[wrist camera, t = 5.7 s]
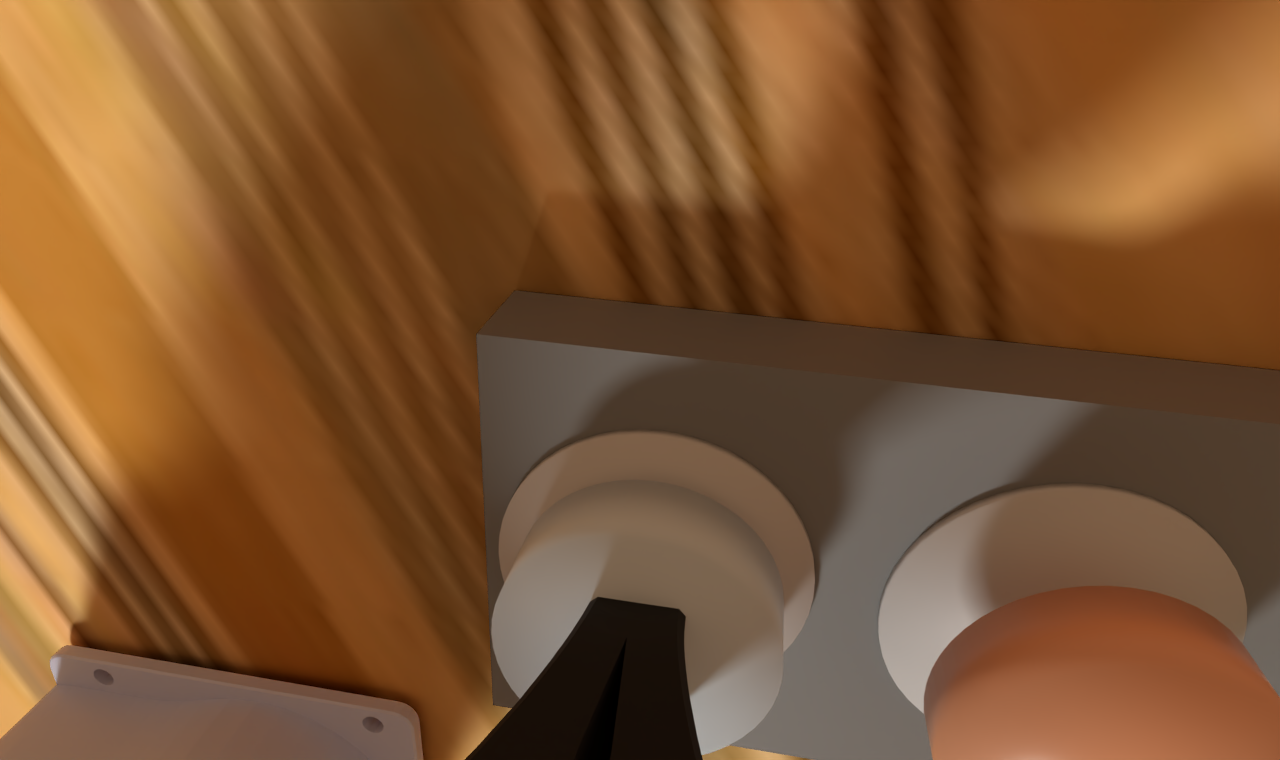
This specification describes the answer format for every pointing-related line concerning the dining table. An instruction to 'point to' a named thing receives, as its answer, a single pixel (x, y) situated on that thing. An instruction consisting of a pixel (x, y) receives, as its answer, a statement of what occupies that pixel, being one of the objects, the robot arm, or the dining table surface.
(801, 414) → the button board
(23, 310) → the dining table surface
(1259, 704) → the terracotta button
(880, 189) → the dining table surface
